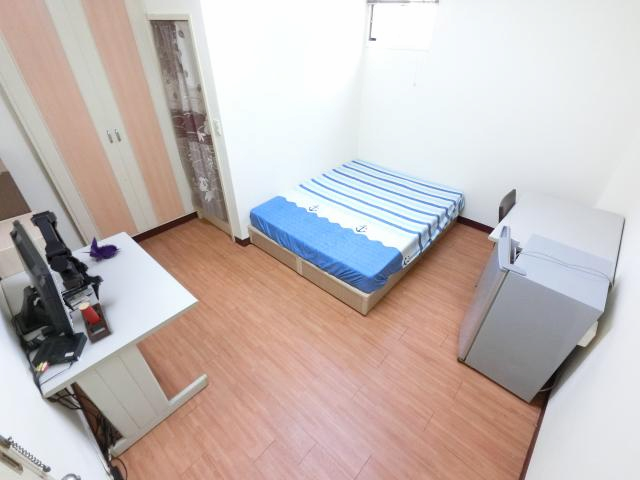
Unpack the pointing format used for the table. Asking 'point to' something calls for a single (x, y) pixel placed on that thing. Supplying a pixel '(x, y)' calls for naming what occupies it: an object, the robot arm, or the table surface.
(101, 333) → the brown wooden rack
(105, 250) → the creature
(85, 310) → the red cylinder
